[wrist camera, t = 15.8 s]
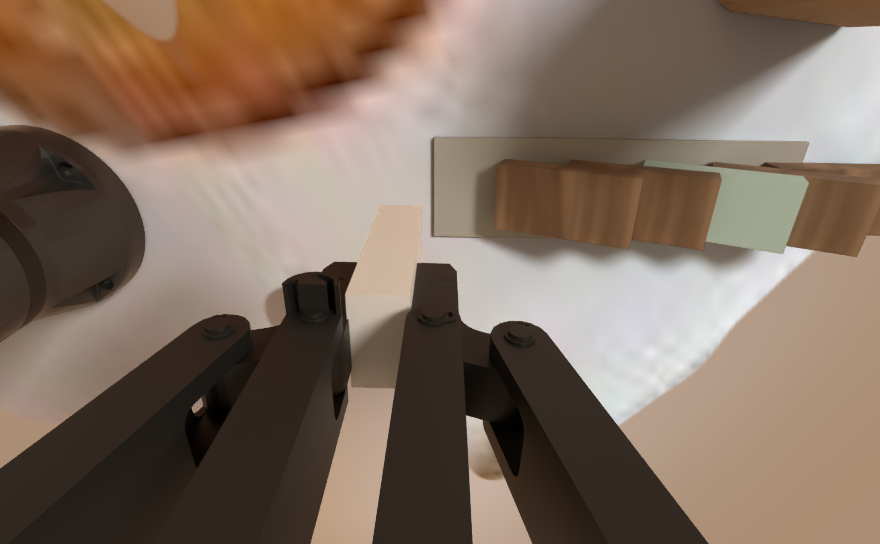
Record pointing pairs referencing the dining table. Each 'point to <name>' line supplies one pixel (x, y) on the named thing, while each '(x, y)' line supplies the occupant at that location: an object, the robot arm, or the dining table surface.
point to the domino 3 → (829, 210)
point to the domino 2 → (671, 203)
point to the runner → (475, 164)
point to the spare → (751, 206)
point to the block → (813, 10)
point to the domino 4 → (858, 170)
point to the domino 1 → (567, 201)
